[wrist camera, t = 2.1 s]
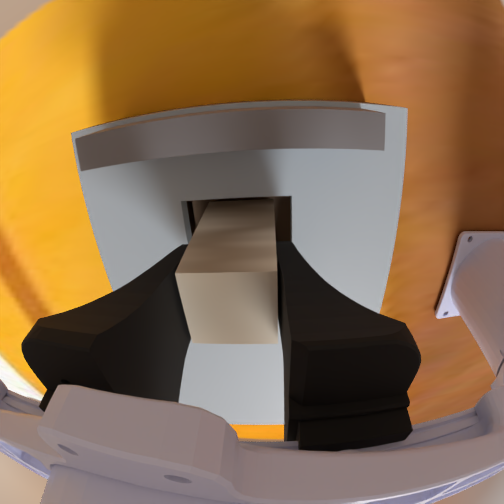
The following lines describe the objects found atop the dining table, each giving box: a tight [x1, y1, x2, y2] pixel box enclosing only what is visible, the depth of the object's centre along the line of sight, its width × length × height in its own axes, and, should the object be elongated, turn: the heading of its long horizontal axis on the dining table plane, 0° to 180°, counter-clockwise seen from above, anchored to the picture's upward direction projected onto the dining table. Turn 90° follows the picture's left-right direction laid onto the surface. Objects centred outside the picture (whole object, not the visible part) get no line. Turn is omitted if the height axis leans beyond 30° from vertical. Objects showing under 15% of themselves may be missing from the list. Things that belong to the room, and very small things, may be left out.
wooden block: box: [175, 199, 278, 344], centre depth 12 cm, size 3×3×6 cm
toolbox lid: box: [71, 101, 407, 425], centre depth 15 cm, size 14×22×3 cm, turn 4°
